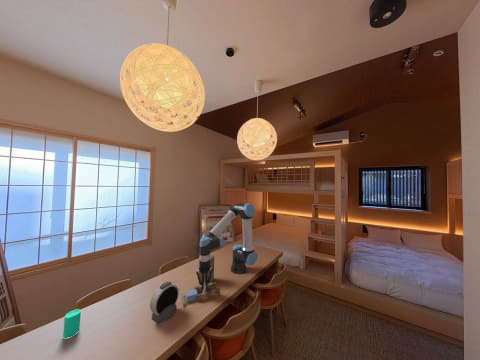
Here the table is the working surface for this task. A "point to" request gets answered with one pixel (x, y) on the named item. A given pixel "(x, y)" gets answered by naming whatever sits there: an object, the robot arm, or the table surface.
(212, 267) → the wooden block
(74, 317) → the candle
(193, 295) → the block
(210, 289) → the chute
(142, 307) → the table surface
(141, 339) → the table surface
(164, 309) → the alarm clock
